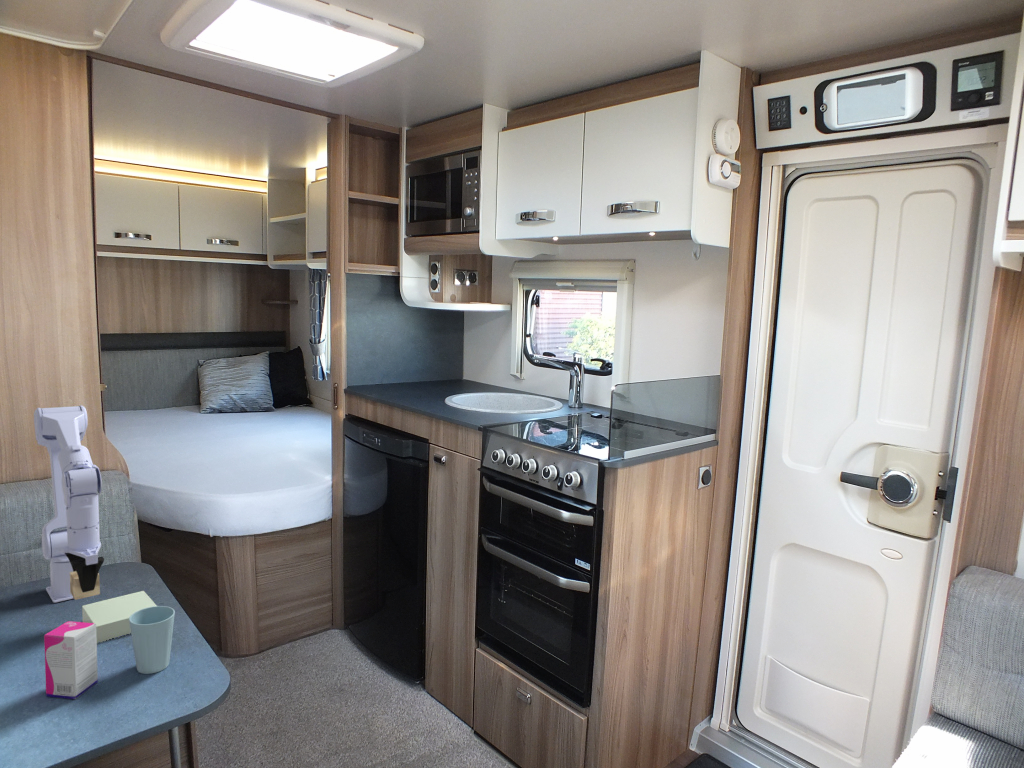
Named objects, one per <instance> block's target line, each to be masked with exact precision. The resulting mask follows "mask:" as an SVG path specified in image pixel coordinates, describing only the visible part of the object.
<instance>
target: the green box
mask: <svg viewBox="0 0 1024 768" xmlns="http://www.w3.org/2000/svg"><path fill="white" fill-rule="evenodd" d="M154 606H158V605H157V604H156V603H155V602H154V600H153V599H152V598H151V597H150V596H149V595H148V594H147V593H146V592H145V590H141V591H137V592H133V593H128V594H125V595H120V596H117V597H112V598H108V599H104V600H99V601H96V602H93V603H88V604H84V605H82V606H81V610H82V611H81V612H82V622H84V623H96V638H97V644H99V643H98V642H100V643H104V642H107V641H110V640H109V639H111V640H113V639H112V638H114V639H116V638H115V637H118V638H120V637H119V636H122V635H125V636H127V635H126V634H129V633H131V629H130V623H129V617H130V616H131V615H132V614H133V613H135V612H137V611H139V610H141V609H144V608H148V607H154ZM129 635H130V634H129ZM122 637H123V636H122ZM106 640H107V641H106ZM103 641H104V642H103Z"/></svg>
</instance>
